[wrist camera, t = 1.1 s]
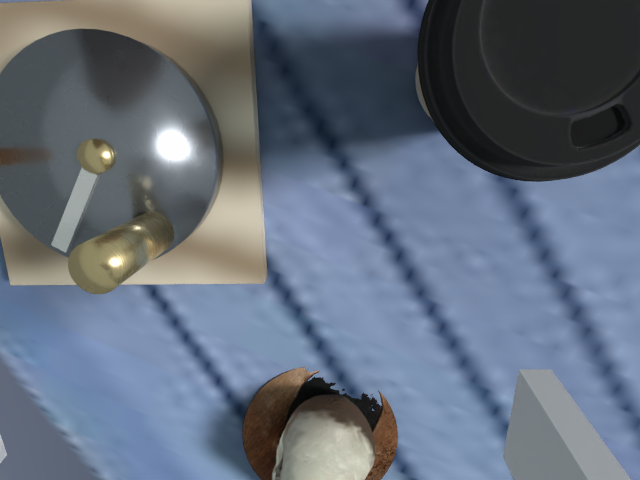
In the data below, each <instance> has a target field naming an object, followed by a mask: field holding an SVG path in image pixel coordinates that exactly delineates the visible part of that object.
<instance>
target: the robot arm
mask: <svg viewBox="0 0 640 480" xmlns="http://www.w3.org/2000/svg"><path fill="white" fill-rule="evenodd" d="M6 456H7V453H6V450H5V447H4V444H3V441H2V438H1V435H0V463H1V462H2V461H3V459H4V458H5V457H6ZM503 457H504V459H505V462H506V464H507V466H508V468H509V471H510V473H511V475H512V477H513V480H631V479H630V477H629V476H628V475H627V473H626V472H625V471H624V469H623V468H622V466H621V465H620V464H619V462H618V461H617V460H616V458H615V457H614V455H613V454H612V453H611V451H610V450H609V449H608V447H607V446H606V444H605V443H604V442H603V440H602V439H601V438H600V436H599V435H598V433H597V432H596V431H595V429H594V428H593V427H592V425H591V424H590V422H589V421H588V420H587V418H586V417H585V416H584V414H583V413H582V411H581V410H580V409H579V407H578V406H577V404H576V403H575V402H574V400H573V399H572V398H571V396H570V395H569V393H568V392H567V391H566V389H565V388H564V387H563V385H562V384H561V382H560V381H559V380H558V378H557V377H556V376H555V374H554V373H553V371H552V370H519V373H518V379H517V384H516V390H515V395H514V401H513V406H512V411H511V417H510V422H509V428H508V433H507V438H506V444H505V449H504V455H503Z"/></svg>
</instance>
